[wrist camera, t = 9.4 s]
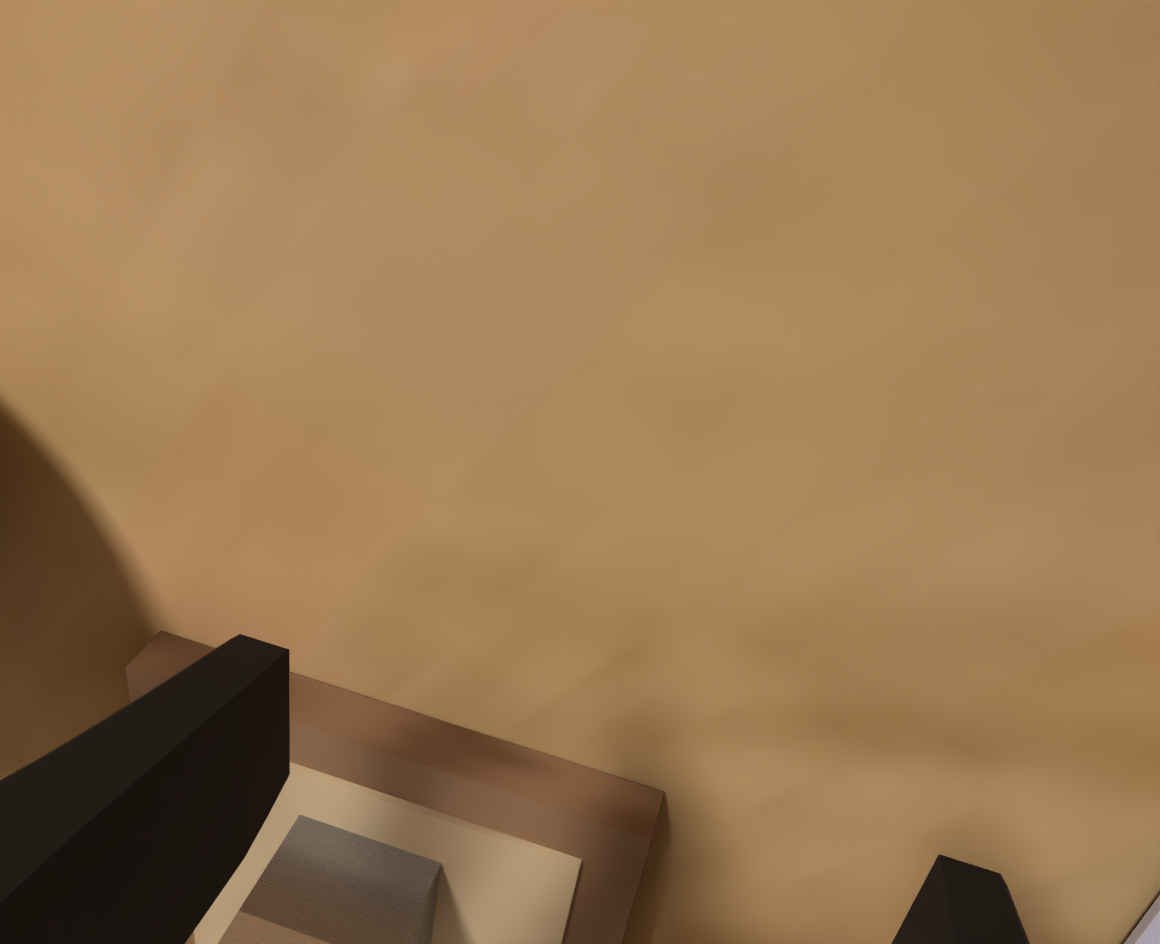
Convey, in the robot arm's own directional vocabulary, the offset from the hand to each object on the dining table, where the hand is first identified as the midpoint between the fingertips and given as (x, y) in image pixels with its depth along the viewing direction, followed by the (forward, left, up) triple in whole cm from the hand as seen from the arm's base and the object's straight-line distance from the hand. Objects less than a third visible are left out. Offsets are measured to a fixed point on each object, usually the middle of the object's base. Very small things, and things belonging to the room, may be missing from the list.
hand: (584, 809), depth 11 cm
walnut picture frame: (+6, +18, -10) cm, 22 cm away
